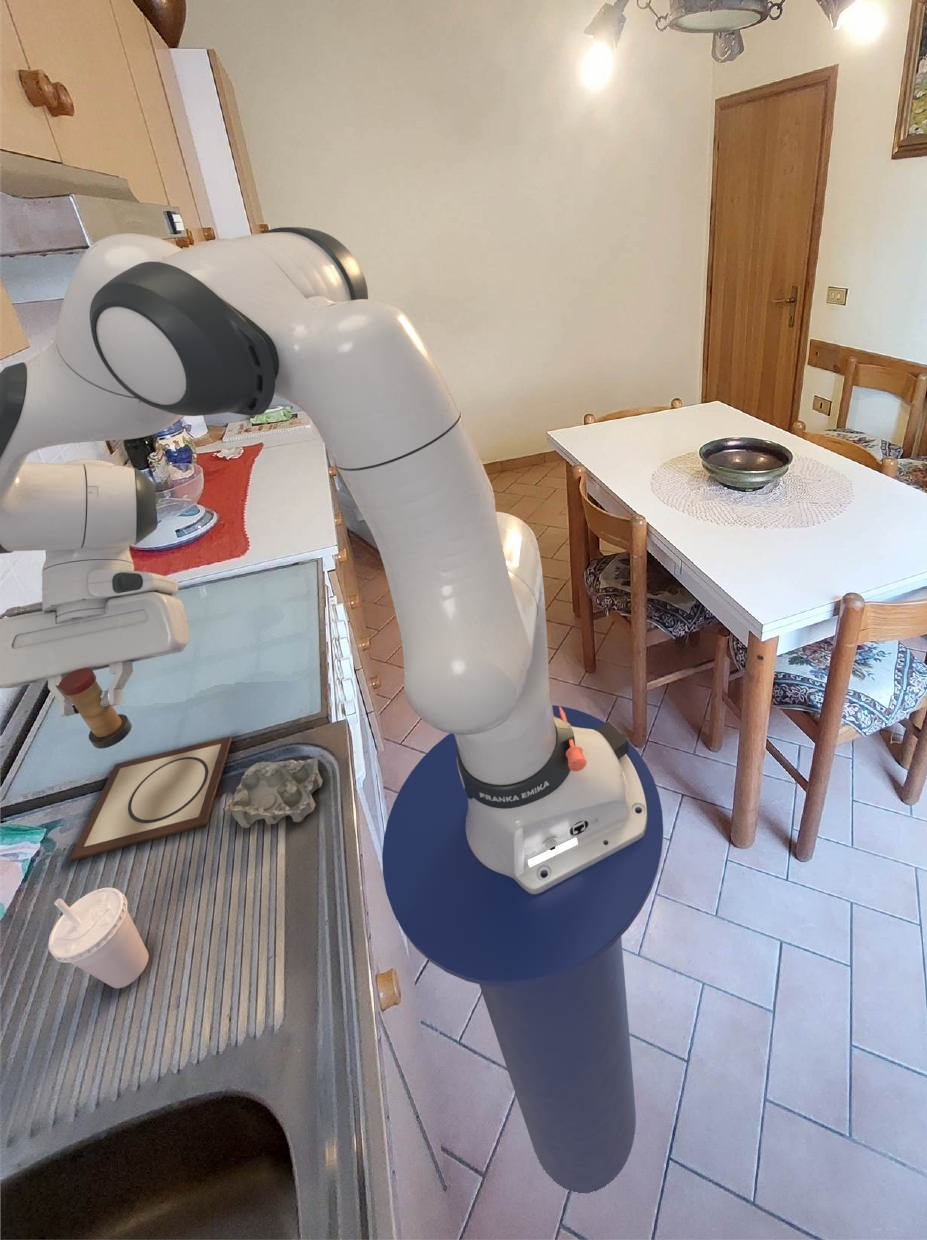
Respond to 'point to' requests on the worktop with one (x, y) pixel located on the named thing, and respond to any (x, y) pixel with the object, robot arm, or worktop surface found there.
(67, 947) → the smoothie
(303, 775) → the egg carton
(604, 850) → the robot arm
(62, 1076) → the worktop surface
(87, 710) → the stamp
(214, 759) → the drawing board
